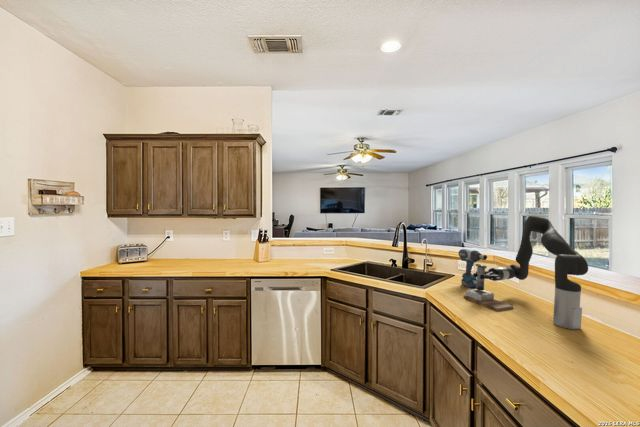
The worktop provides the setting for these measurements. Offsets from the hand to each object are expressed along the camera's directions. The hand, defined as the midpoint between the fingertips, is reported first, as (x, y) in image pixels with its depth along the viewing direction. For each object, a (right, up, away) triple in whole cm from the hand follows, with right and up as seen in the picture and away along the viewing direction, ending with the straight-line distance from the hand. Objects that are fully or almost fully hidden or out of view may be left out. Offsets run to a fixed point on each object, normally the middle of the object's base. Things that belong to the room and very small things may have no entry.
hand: (477, 276), depth 170 cm
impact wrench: (+12, -14, +30) cm, 35 cm away
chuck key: (+2, -8, +1) cm, 8 cm away
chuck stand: (+4, -15, -3) cm, 16 cm away
